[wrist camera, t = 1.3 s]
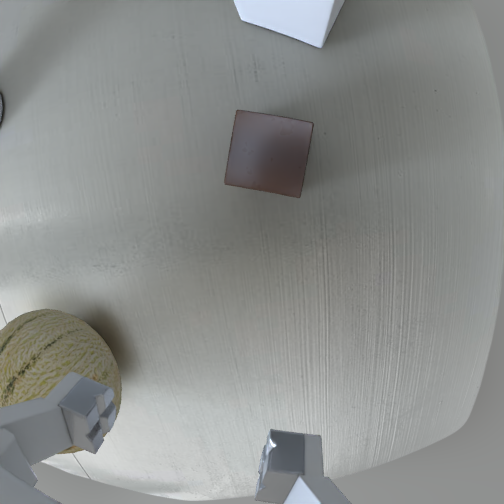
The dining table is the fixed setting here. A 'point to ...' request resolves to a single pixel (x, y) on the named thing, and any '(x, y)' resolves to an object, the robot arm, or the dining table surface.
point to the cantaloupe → (52, 357)
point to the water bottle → (1, 107)
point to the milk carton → (293, 17)
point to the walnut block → (268, 153)
